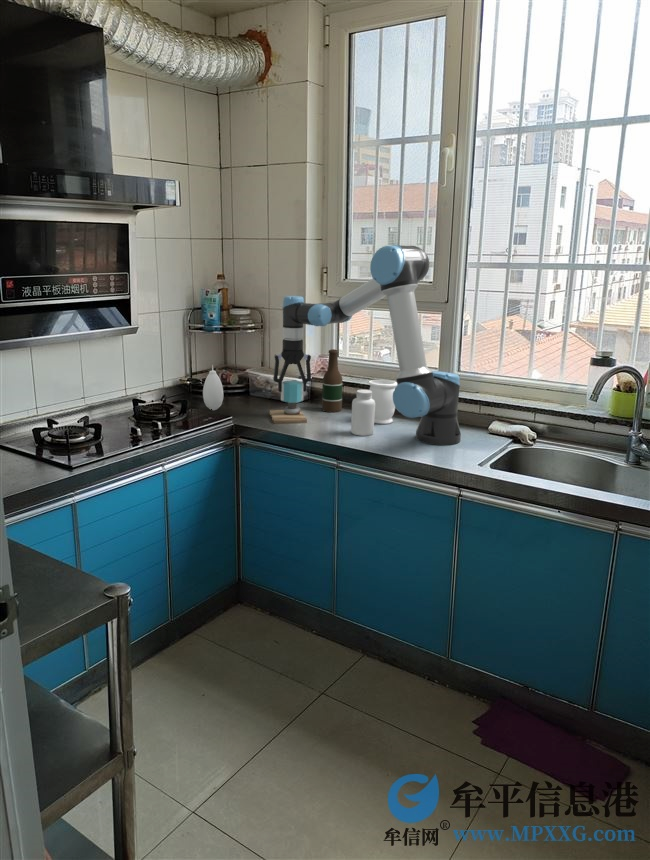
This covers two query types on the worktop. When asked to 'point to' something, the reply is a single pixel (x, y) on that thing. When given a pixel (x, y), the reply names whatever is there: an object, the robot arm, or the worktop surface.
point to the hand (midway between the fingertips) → (292, 399)
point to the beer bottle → (332, 385)
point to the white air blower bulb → (213, 391)
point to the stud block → (288, 415)
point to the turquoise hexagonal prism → (292, 391)
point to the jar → (383, 400)
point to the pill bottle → (363, 413)
